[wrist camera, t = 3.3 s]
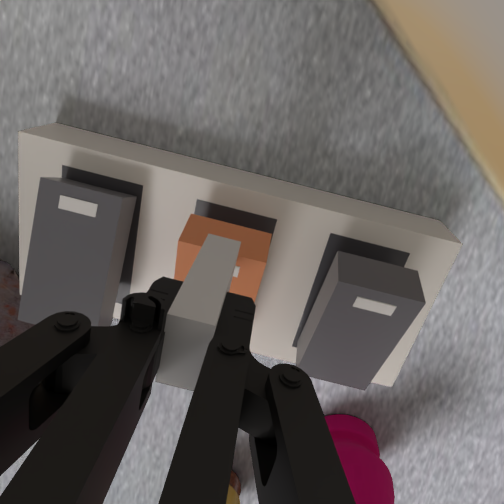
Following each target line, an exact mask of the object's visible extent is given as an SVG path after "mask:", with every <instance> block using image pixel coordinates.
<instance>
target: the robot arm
mask: <svg viewBox="0 0 504 504" xmlns="http://www.w3.org/2000/svg"><path fill="white" fill-rule="evenodd" d="M240 245H241V242H240V241H236V240H233V239H229V238H225V237H221V236H217V235H213V234H208V236H207V237H206V239H205V241H204V243H203V245H202V247H201V249H200V251H199V253H198V255H197V257H196V259H195V261H194V263H193V265H192V266H191V268H190V270H189V272H188V274H187V276H186V278H185V280H184V282H183V281H179V280H175V279H171V278H168V277H164V276H163V277H161V278H159V279H157V280H156V281H154V282H153V283H152V285H151V286H150V288H149V290H148V291H147V293H144V292H139V293H132V294H129V295H127V296H126V297H124V298H123V299H122V308H121V316H120V322H119V323H118V325H115V326H91V321H90V319H89V318H88V317H87V316H85V315H84V314H82V313H78V312H75V311H64V312H58V313H55V314H53V315H50V316H48V317H47V318H45V319H44V320H42V321H40V322H39V323H37V324H36V325H34V326H33V327H31V328H29V329H28V330H26V331H25V332H23V333H21V334H20V335H18V336H17V337H15V338H13V339H12V340H10V341H9V342H7V343H6V344H4V345H2V346H1V347H0V476H1V475H2V474H3V473H4V472H5V471H6V470H7V469H8V468H9V467H10V466H11V465H12V464H13V463H14V462H15V461H16V460H17V459H18V458H19V457H21V456H22V455H23V454H24V453H25V452H26V451H27V450H28V449H29V448H30V447H31V446H32V445H33V444H34V443H35V442H36V441H37V440H38V439H39V438H40V439H39V440H38V442H37V443H36V445H35V446H34V448H33V449H32V451H31V452H30V454H29V455H28V456H27V458H26V459H25V461H24V462H23V464H22V465H21V467H20V468H19V470H18V471H17V473H16V474H15V475H14V477H13V478H12V480H11V481H10V483H9V484H8V486H7V487H6V489H5V490H4V492H3V493H2V495H1V496H0V504H103V501H104V499H105V497H106V495H107V492H108V490H109V488H110V485H111V483H112V481H113V479H114V476H115V474H116V472H117V469H118V467H119V465H120V463H121V460H122V458H123V456H124V453H125V451H126V449H127V447H128V444H129V442H130V440H131V437H132V435H133V433H134V430H135V428H136V426H137V424H138V421H139V419H140V417H141V414H142V412H143V410H144V408H145V405H146V403H147V401H148V398H149V396H150V394H151V388H152V382H153V380H154V378H155V375H156V373H157V375H156V381H155V382H159V383H163V384H167V385H171V386H175V387H179V388H183V389H187V390H191V391H194V392H193V396H192V399H191V402H190V405H189V408H188V412H187V415H186V418H185V421H184V424H183V427H182V431H181V434H180V437H179V440H178V443H177V447H176V450H175V453H174V456H173V459H172V462H171V466H170V469H169V472H168V475H167V478H166V482H165V485H164V488H163V491H162V494H161V497H160V501H159V504H226V501H227V495H228V489H229V482H230V476H231V470H232V463H233V457H234V451H235V445H236V438H237V432H238V428H240V429H242V430H244V431H245V432H247V433H249V442H250V449H251V455H252V462H253V468H254V475H255V481H256V488H257V494H258V501H259V504H356V503H355V500H354V497H353V494H352V492H351V489H350V486H349V483H348V481H347V478H346V475H345V472H344V469H343V467H342V464H341V461H340V458H339V456H338V453H337V450H336V447H335V445H334V442H333V439H332V436H331V434H330V431H329V428H328V425H327V423H326V420H325V417H324V414H323V411H322V409H321V406H320V403H319V400H318V398H317V395H316V392H315V389H314V387H313V384H312V381H311V379H310V378H309V376H308V374H307V373H305V372H304V371H303V370H302V369H300V368H298V367H296V366H294V365H290V364H277V365H275V366H273V367H272V368H271V369H270V368H268V367H266V366H264V365H263V364H261V363H259V362H258V361H257V360H256V359H255V358H254V357H253V356H252V354H251V352H250V340H251V334H252V327H253V321H254V315H255V309H256V305H255V303H254V301H253V299H252V298H251V297H247V296H243V295H239V294H235V293H231V292H229V290H230V286H231V282H232V278H233V273H234V269H235V265H236V261H237V257H238V253H239V249H240Z"/></svg>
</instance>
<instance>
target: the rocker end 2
mask: <svg viewBox="0 0 504 504" xmlns="http://www.w3.org/2000/svg"><path fill="white" fill-rule="evenodd" d="M425 304H426V301H425V297H424V293H423V290H422V286H421V282H420V278H419V274H418V271H417V270H413V269H409V268H405V267H401V266H397V265H393V264H389V263H385V262H381V261H377V260H373V259H369V258H365V257H361V256H357V255H353V254H349V253H345V252H342V251H337V253H336V256H335V258H334V260H333V262H332V265H331V267H330V269H329V271H328V274H327V276H326V278H325V281H324V283H323V285H322V287H321V290H320V292H319V294H318V296H317V299H316V301H315V303H314V305H313V308H312V310H311V312H310V315H309V317H308V319H307V321H306V324H305V326H304V328H303V330H302V333H301V335H300V337H299V340H298V342H297V354H296V367H298V368H300V369H302V370H303V371H304V372H305V373H307V374H308V376H309V377H313V378H317V379H321V380H325V381H329V382H333V383H337V384H341V385H345V386H349V387H353V388H357V389H361V390H365V389H366V388H367V387H368V385H369V384H370V382H371V381H372V379H373V378H374V377H375V375H376V374H377V372H378V371H379V369H380V368H381V367H382V365H383V364H384V362H385V361H386V359H387V358H388V357H389V355H390V354H391V352H392V351H393V349H394V348H395V347H396V345H397V344H398V342H399V341H400V339H401V338H402V337H403V335H404V334H405V332H406V331H407V329H408V328H409V327H410V325H411V324H412V322H413V321H414V319H415V318H416V317H417V315H418V314H419V312H420V311H421V309H422V308H423V307H424V305H425Z"/></svg>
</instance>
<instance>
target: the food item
mask: <svg viewBox="0 0 504 504" xmlns="http://www.w3.org/2000/svg"><path fill="white" fill-rule="evenodd" d="M20 301H21V295H20V286H19V278H18V276H17V274H16V271H15V269H14V268H13V267H12V266H11V265H10V264H8V263H7V262H5V261H1V260H0V347H1V346H2V345H4V344H6V343H7V342H9V341H10V340H12V339H13V338H15V337H17V336H18V335H20V334H21V333H23V332H25V331H26V330H28V329H29V328H31V327H33V326H34V325H35V324H31V323H27V322H23V321H19V320H18V313H19V307H20Z"/></svg>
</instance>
